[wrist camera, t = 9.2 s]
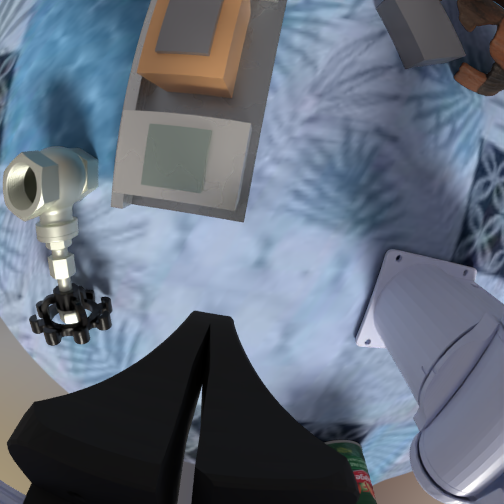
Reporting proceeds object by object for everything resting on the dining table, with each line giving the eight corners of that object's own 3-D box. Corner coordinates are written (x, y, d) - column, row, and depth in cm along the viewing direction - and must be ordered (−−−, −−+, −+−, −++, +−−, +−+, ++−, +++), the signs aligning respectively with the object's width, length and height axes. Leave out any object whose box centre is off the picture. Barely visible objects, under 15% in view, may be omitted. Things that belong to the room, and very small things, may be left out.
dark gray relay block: (416, 7, 14) (435, -7, 11) (443, 63, 15) (466, 55, 13) (374, 9, 14) (390, -7, 12) (404, 69, 16) (424, 60, 13)
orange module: (250, 13, 14) (249, -31, 9) (231, 98, 16) (222, 76, 11) (187, 8, 14) (165, -33, 9) (166, 91, 16) (133, 71, 11)
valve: (46, 148, 18) (60, 295, 22) (-14, 155, 11) (16, 336, 15) (120, 142, 18) (128, 305, 22) (65, 141, 12) (91, 356, 15)
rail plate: (296, -43, 13) (307, -90, 7) (244, 218, 19) (239, 247, 14) (186, -52, 13) (169, -96, 7) (126, 199, 19) (82, 219, 13)
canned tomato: (372, 437, 27) (397, 516, 16) (346, 471, 29) (361, 540, 19) (306, 439, 26) (318, 529, 16) (286, 473, 29) (292, 548, 19)
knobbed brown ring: (418, 73, 16) (452, -12, 8) (416, 16, 18) (435, -50, 10) (538, 140, 14) (591, 88, 6) (520, 70, 16) (553, 20, 7)
